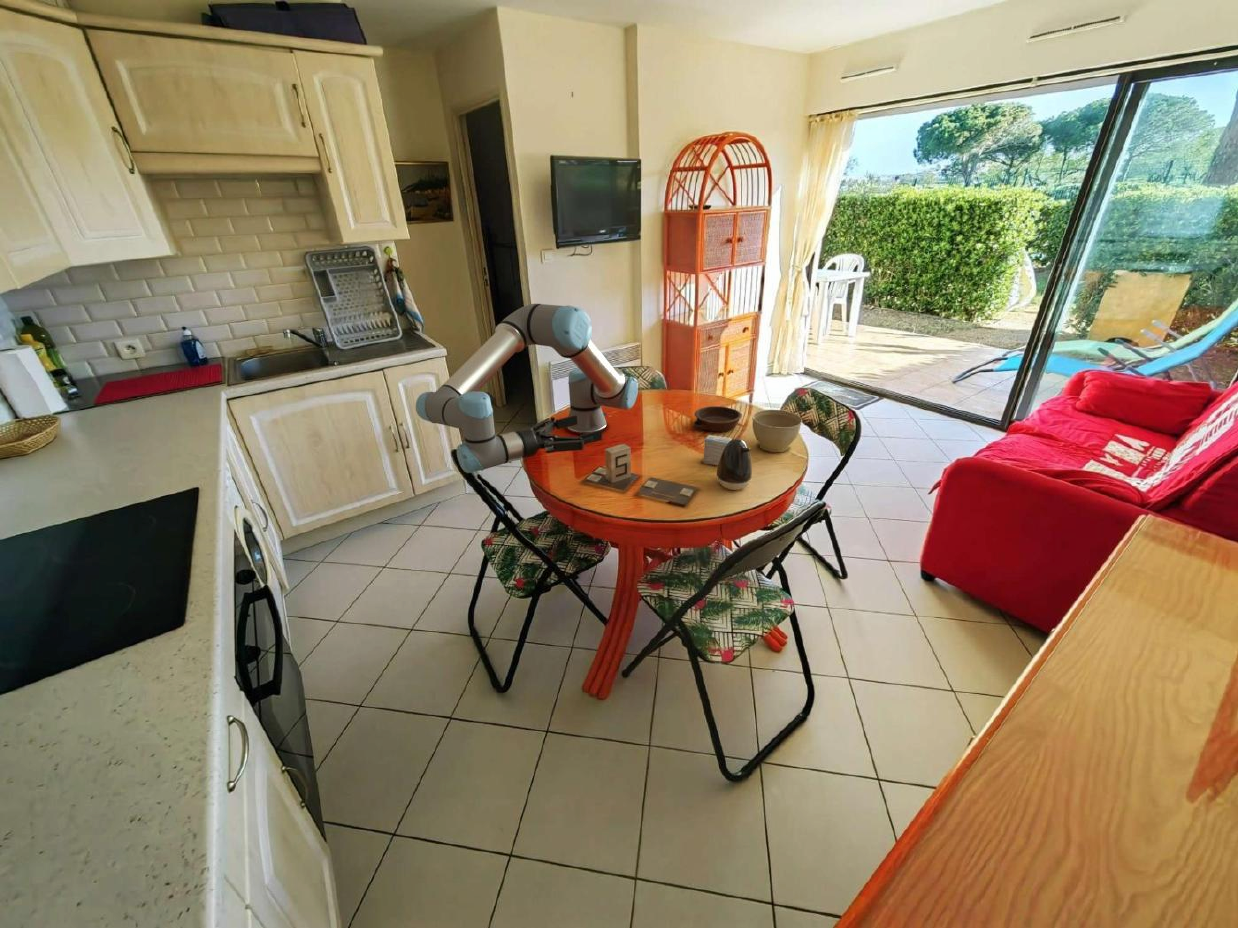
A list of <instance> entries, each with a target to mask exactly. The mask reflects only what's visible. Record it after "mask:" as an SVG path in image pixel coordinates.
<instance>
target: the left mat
mask: <svg viewBox="0 0 1238 928" xmlns="http://www.w3.org/2000/svg"><path fill="white" fill-rule="evenodd" d="M639 475H640V474H637V473H632V472H631V477H629V478H626V479H622V480H619V481H616V482H613V483H611V482H610V481H608V480H607V479H606V468H605V467H604V466H598V467H597V468H596V469H595V470H593V471H592V472H591V473H590V474H589V475H588V476H586V478H584V479H583V480H582V482H585V483H589V484H593V485H597V486H600V487H601V486H602V487H607V488H611V489H614V490H619V491H623V492H624V491H625V490H626V489H627V488H628V487H629V486H630V485H631V484H632V483H633V482H634V481H635V480H636V479H637V478H638V477H639Z"/></svg>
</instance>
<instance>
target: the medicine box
mask: <svg viewBox="0 0 1238 928" xmlns="http://www.w3.org/2000/svg"><path fill="white" fill-rule="evenodd" d="M732 439H733V438H732V437H726V436H720V435H714V434H713V435H712V434H708V435H707V436H706V437H705V439H704V444H703V446H704V447H703V460H702V461H703V464H707V465H712V466H718V463H719V460H720V457H721V454H722V452H723V450H724V448H725V446H726V445H727V444H728V442H729V441H731V440H732Z"/></svg>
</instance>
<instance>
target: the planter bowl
mask: <svg viewBox="0 0 1238 928" xmlns="http://www.w3.org/2000/svg"><path fill="white" fill-rule="evenodd" d="M751 417H752V418H751V419H752V431H753V434H754V436H755V439H756V441H757V442H758V444H759V448H760V449H762V450H764V451H766V452H770V453H782V452H783V453H784V452H785V451H787V450H788V448H789V447H790V446H791V444H792V443H793V442H794V441H795V440H796V439H797V437H798V435H799V433H800V430H801V425H802V424H803V418H802V417H801V416H800V415H798V414H796V413H793V412H792V411H787V410H782V409H764V410H758V411H756V412H755V413H753V414H752V416H751Z"/></svg>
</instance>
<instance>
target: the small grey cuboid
mask: <svg viewBox="0 0 1238 928" xmlns="http://www.w3.org/2000/svg"><path fill="white" fill-rule="evenodd" d="M631 453H632V449H631V446H629V445H627V444H625V443H622V444H618V445H614V446H611V447H608V448H604V462H605V463H604V466H605V468H606V479H607V480H608V481H610V482H611V483H613V482H616V481H619V480H622V479H626V478H629V477H631V473H632V463H631V461H632V455H631Z"/></svg>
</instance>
